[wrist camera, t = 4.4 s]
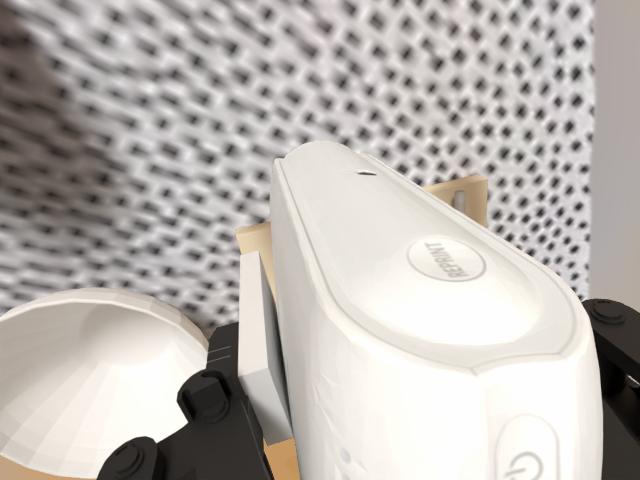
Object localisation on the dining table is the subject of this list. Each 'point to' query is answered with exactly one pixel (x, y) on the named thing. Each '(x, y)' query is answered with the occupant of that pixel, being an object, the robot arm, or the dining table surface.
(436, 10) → the dining table surface
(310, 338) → the photo printer
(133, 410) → the bowl
